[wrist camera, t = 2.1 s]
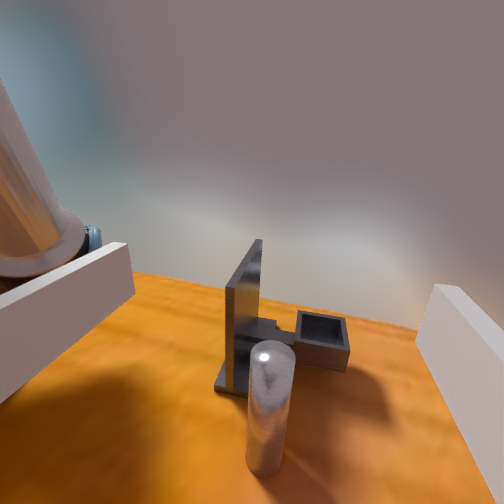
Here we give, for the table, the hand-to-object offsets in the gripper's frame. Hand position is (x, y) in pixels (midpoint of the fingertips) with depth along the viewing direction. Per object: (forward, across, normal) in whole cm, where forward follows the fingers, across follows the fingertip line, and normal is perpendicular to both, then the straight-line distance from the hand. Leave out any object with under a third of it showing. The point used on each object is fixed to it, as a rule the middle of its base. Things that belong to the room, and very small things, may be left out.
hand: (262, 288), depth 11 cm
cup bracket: (+26, 0, -29) cm, 39 cm away
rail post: (+10, 0, -29) cm, 31 cm away
